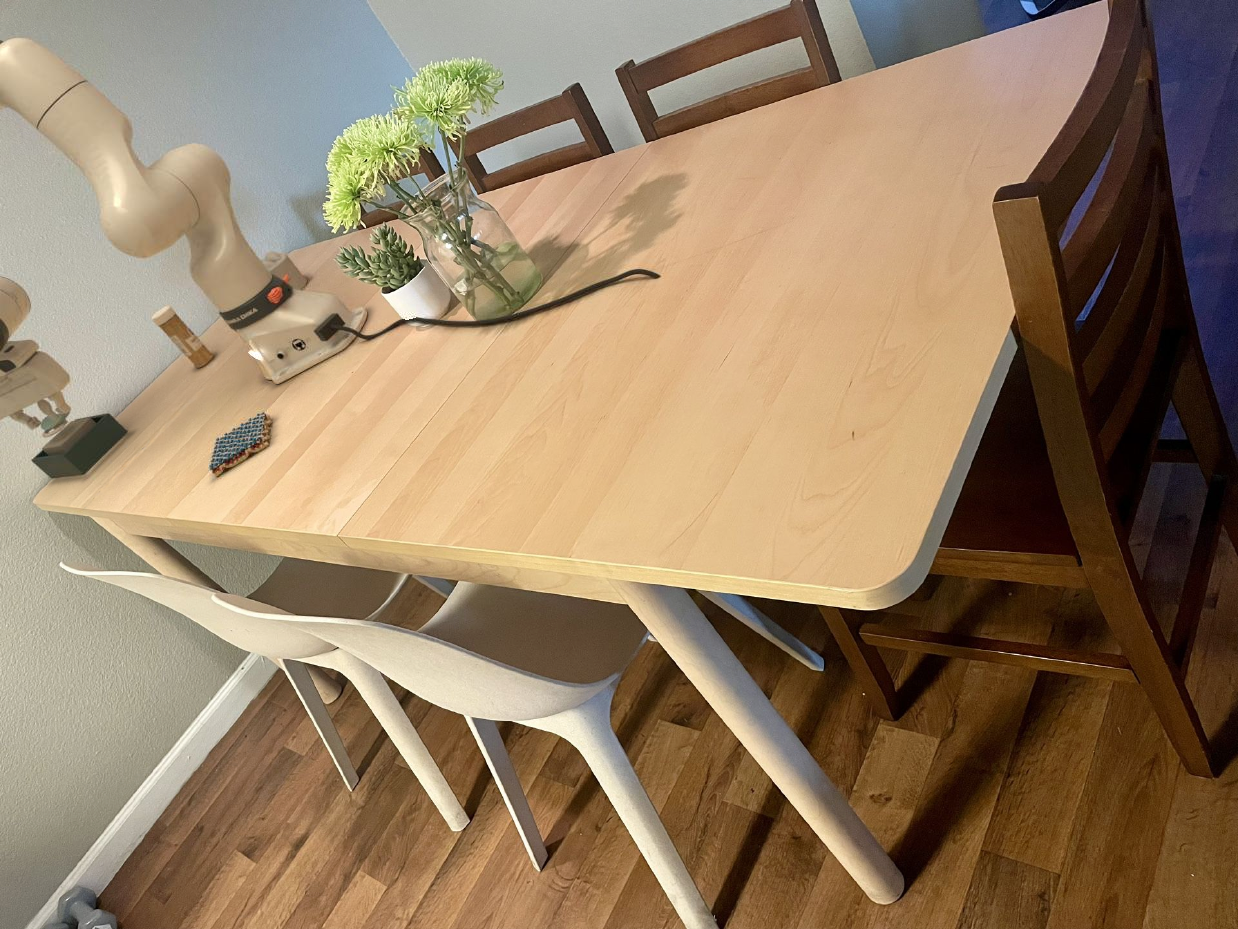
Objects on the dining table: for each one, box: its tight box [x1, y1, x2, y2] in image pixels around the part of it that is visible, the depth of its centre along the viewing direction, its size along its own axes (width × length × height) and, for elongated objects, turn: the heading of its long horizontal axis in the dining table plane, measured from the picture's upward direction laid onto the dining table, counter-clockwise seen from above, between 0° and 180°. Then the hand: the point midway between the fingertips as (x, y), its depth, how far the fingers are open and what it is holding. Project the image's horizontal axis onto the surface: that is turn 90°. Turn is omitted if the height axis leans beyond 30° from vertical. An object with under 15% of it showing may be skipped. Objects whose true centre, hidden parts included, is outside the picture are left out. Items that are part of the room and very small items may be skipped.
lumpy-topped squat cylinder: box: [260, 250, 308, 290], centre depth 203 cm, size 10×13×9 cm
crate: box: [30, 412, 129, 479], centre depth 180 cm, size 14×12×6 cm
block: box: [41, 417, 96, 456], centre depth 180 cm, size 8×8×6 cm
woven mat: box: [208, 411, 273, 478], centre depth 148 cm, size 10×11×2 cm
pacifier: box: [36, 399, 71, 438], centre depth 176 cm, size 7×6×6 cm
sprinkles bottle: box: [151, 305, 214, 369], centre depth 191 cm, size 5×5×13 cm
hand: (52, 419), depth 176 cm, fingers closed on pacifier, 7 cm apart
